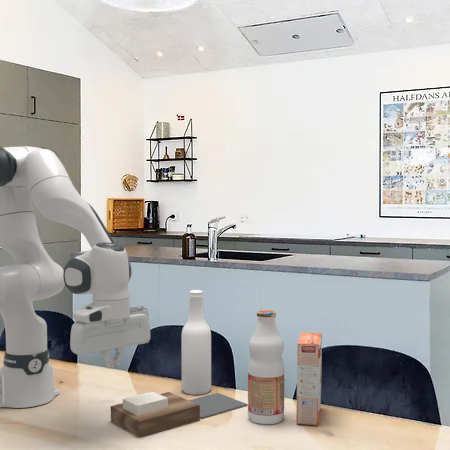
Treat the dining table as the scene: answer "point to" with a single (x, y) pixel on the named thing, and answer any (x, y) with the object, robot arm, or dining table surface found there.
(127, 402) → the tile
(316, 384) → the cracker box
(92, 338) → the robot arm
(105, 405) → the dining table surface
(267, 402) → the fruit juice
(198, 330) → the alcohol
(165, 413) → the board
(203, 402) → the mat
